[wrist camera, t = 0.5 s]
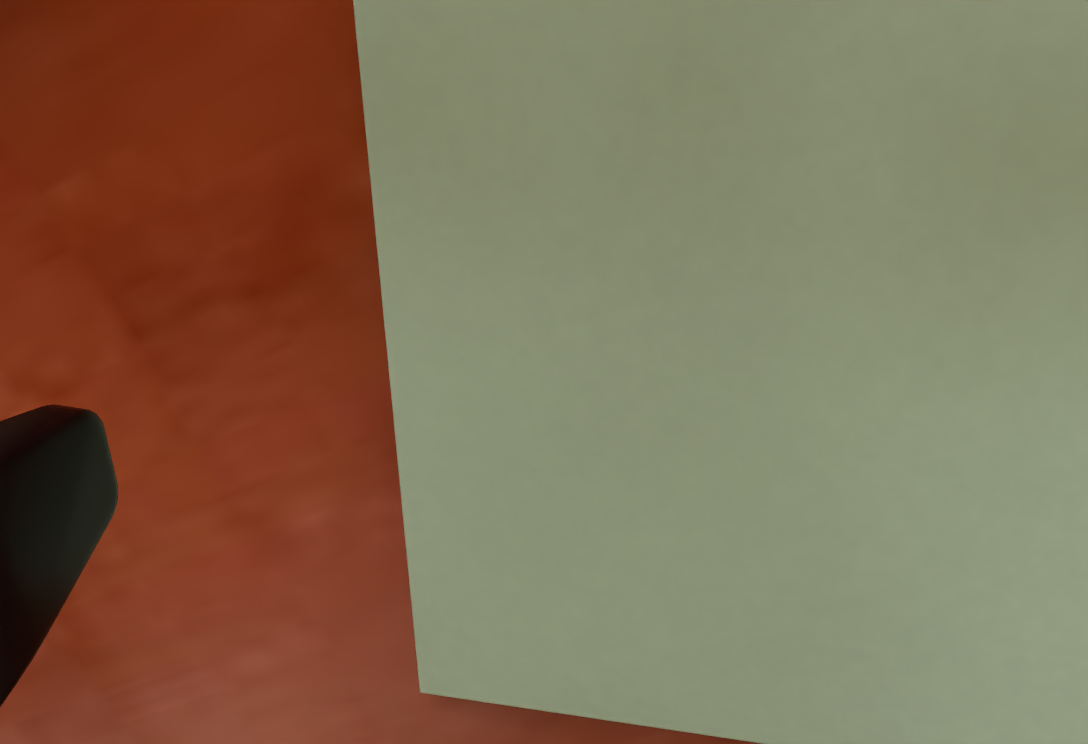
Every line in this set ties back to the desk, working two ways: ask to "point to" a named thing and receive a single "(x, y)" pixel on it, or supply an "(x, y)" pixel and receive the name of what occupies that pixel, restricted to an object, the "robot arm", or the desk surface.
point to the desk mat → (741, 359)
